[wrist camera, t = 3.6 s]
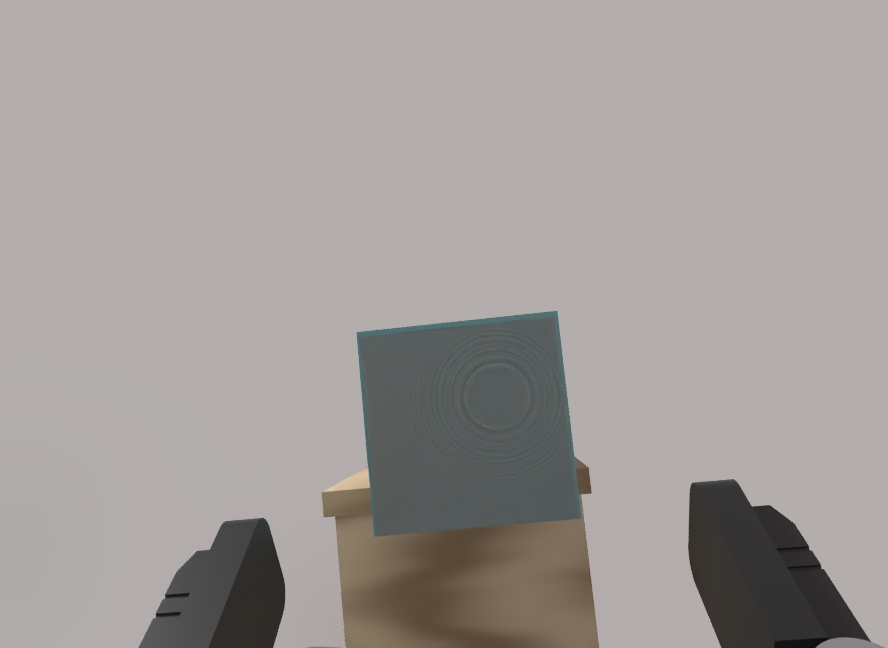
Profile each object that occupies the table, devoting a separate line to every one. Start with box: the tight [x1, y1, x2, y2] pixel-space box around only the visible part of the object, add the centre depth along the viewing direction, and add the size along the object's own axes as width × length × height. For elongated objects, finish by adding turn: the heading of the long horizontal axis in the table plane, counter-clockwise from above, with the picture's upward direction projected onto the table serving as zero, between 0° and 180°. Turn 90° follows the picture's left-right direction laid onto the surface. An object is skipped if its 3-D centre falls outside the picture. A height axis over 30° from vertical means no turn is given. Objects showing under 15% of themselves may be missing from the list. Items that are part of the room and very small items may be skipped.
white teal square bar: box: [357, 311, 581, 537], centre depth 26 cm, size 4×24×4 cm, turn 176°
